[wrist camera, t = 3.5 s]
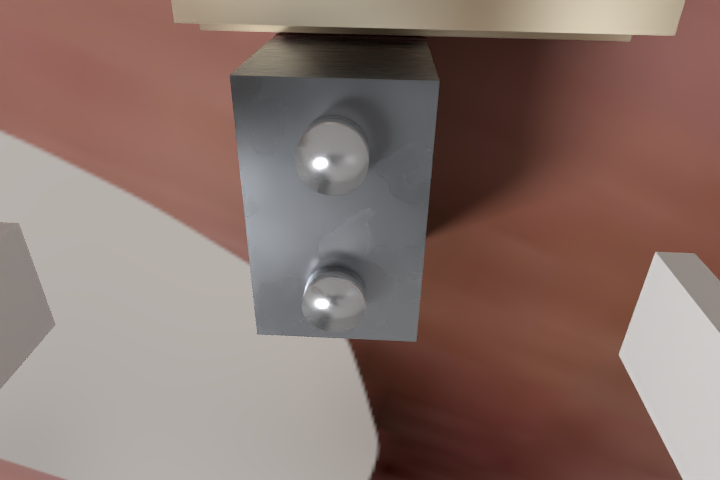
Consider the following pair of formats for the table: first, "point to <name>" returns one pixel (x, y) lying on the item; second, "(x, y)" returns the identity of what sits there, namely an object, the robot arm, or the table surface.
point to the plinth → (440, 17)
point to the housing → (336, 182)
